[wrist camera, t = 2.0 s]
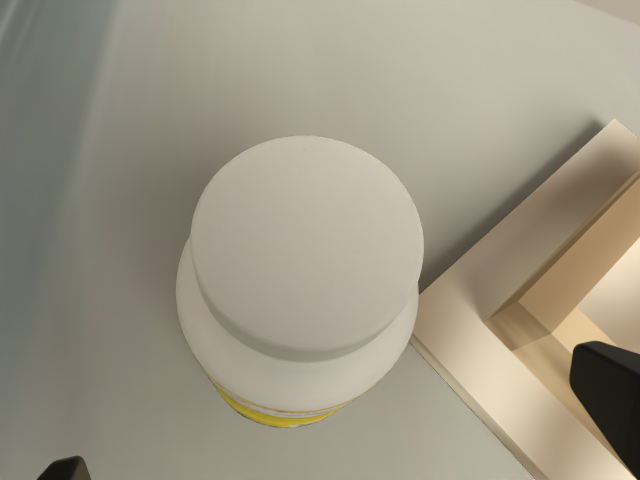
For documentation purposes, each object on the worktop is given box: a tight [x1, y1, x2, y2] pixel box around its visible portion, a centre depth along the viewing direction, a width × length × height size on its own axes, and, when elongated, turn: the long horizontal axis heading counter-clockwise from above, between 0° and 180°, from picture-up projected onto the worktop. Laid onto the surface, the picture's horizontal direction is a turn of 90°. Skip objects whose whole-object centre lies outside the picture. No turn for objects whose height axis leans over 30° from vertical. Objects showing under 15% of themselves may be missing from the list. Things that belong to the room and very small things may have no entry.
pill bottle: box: [176, 135, 424, 428], centre depth 15 cm, size 6×6×11 cm
